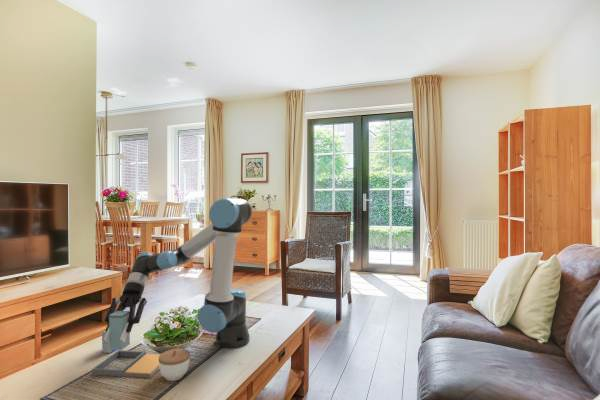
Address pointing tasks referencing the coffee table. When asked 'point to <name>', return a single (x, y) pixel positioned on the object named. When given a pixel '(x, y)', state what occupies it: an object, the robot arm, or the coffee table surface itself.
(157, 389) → the coffee table surface
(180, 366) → the lidded jar
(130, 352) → the shallow grey tray
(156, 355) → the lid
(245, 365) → the coffee table surface
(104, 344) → the medicine box
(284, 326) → the coffee table surface
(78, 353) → the coffee table surface
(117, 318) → the block
